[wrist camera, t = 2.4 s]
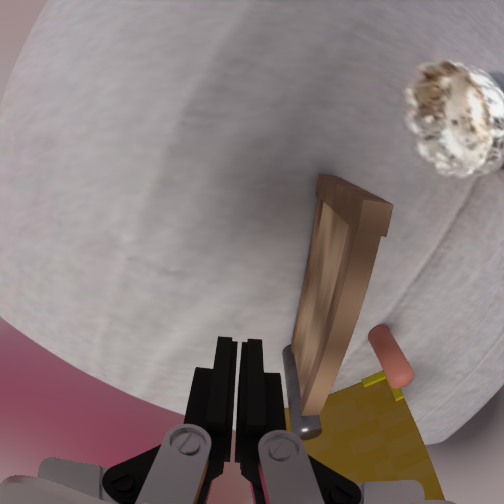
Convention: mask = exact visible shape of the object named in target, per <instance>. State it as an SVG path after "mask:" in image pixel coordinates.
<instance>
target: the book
mask: <svg viewBox="0 0 504 504" xmlns="http://www.w3.org/2000/svg"><path fill="white" fill-rule="evenodd" d="M284 411H285V420H286V429H287V431H290V432H291V424H290V415H289V408H286V409H284ZM319 417H320V422H321V427H322V433H321V434H320V435H319V436H318V437H316V438H314V439H310V440H304V441H302V442H303V443H304V446H305V449H306V452H307V454H308V455H310V456H311V457H313V458H314V459H316V460H317V461H319V462H321V463H322V464H324V465H325V466H327V467H329V468H330V469H332V470H334V471H335V472H337V473H339V474H340V475H342V476H344V477H346V478H347V479H349V480H351V481H353V482H354V483H364V482H380V481H400V480H415V481H417V482H419V483H420V484H421V485H422V486H423V489H424V496H425V500H445V499H444V495H443V493H442V490H441V487H440V484H439V481H438V478H437V476H436V473H435V470H434V468H433V465H432V462H431V460H430V457H429V455H428V452H427V450H426V447H425V445H424V442H423V440H422V437H421V435H420V433H419V430H418V428H417V426H416V423H415V421H414V419H413V417H412V414H411V412H410V410H409V408H408V405H407V403H406V401H405V399H404V396H403V394H402V391H401V389H393V388H392V387H391V385H390V383H389V381H388V379H387V377H386V374H385V372H384V370H383V371H381V372H379V373H377V374H374V375H372V376H370V377H367V378H365V379H363V380H362V382H361V383H359V384H356V385H354V386H351V387H348V388H346V389H343V390H341V391H338V392H335V393H332V394H330V395H328V397H327V399H326V402H325V404H324V406H323V408H322V410H321V412H320V415H319Z"/></svg>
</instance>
